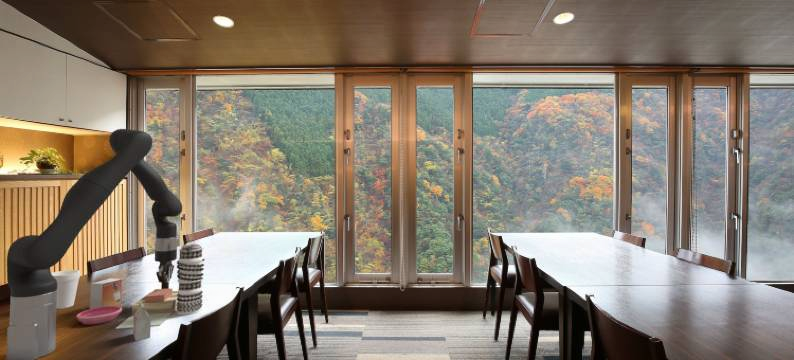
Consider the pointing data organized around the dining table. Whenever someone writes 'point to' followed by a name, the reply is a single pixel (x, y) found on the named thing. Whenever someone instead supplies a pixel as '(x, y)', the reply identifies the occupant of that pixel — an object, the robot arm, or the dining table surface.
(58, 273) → the foam cup
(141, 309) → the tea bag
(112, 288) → the small box
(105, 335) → the dining table surface
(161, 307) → the panel
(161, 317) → the mat
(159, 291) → the salmon pink brick
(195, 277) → the decorative candle
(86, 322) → the saucer
